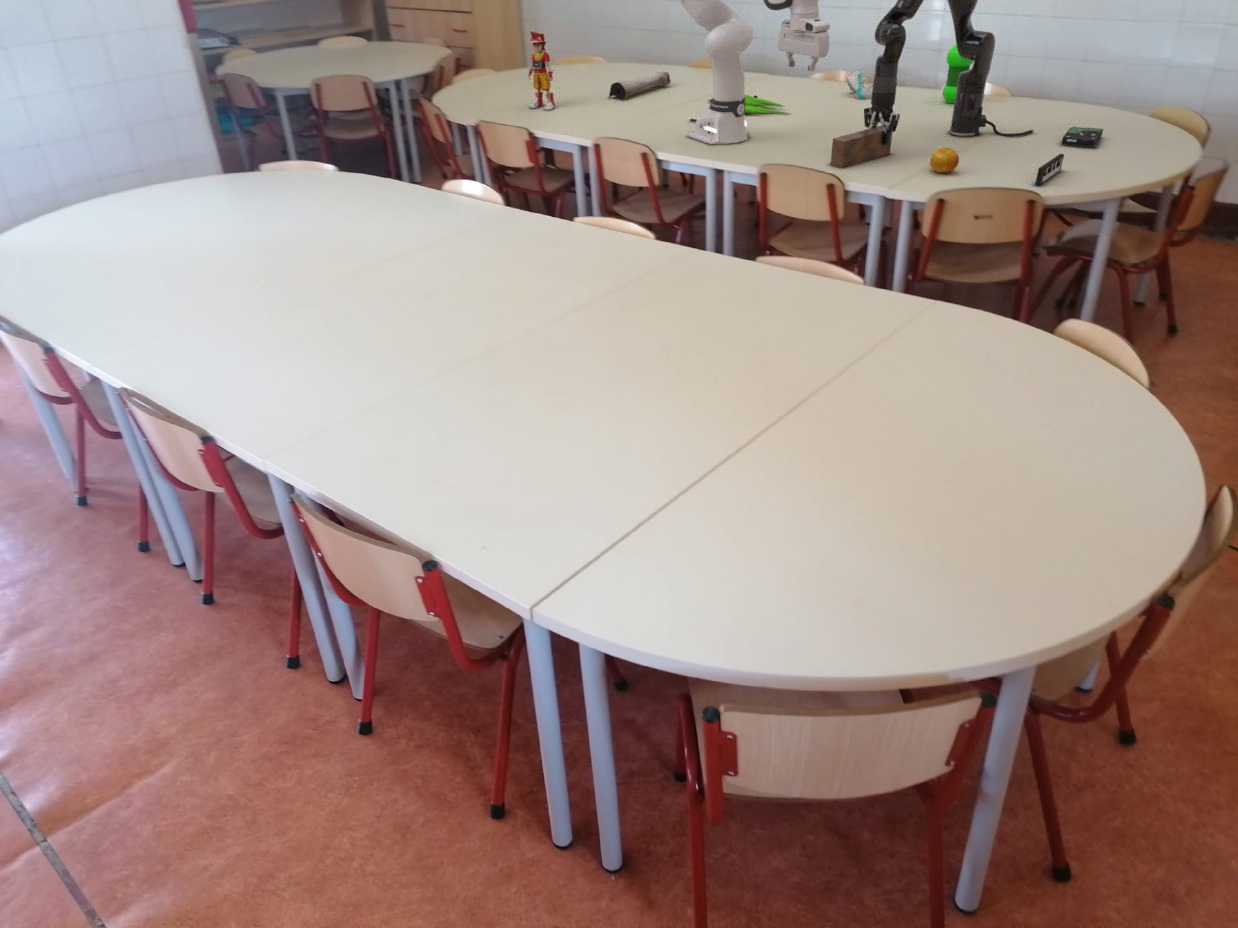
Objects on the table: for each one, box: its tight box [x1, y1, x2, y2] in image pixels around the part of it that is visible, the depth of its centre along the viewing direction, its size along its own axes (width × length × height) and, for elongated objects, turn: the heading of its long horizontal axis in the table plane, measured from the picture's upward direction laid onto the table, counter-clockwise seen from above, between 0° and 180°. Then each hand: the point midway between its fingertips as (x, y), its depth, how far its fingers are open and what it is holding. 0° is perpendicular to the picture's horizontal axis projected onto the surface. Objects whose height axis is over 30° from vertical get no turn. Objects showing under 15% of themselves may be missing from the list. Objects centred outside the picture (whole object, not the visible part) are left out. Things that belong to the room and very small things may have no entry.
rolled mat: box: [608, 71, 672, 101], centre depth 395 cm, size 30×9×10 cm
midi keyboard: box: [1035, 153, 1065, 186], centre depth 273 cm, size 18×1×5 cm, turn 138°
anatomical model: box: [846, 70, 873, 100], centre depth 369 cm, size 15×10×10 cm
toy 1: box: [527, 31, 556, 111], centre depth 374 cm, size 12×9×30 cm
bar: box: [830, 125, 893, 169], centre depth 298 cm, size 22×5×8 cm, turn 123°
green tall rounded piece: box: [942, 44, 974, 104], centre depth 348 cm, size 10×10×25 cm
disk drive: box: [1061, 126, 1104, 148], centre depth 303 cm, size 10×3×15 cm
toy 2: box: [744, 94, 786, 114], centre depth 359 cm, size 28×5×30 cm
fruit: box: [929, 147, 960, 174], centre depth 283 cm, size 8×8×8 cm
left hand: (801, 69), depth 294 cm, fingers open, 8 cm apart
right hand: (878, 142), depth 301 cm, fingers closed on bar, 5 cm apart
